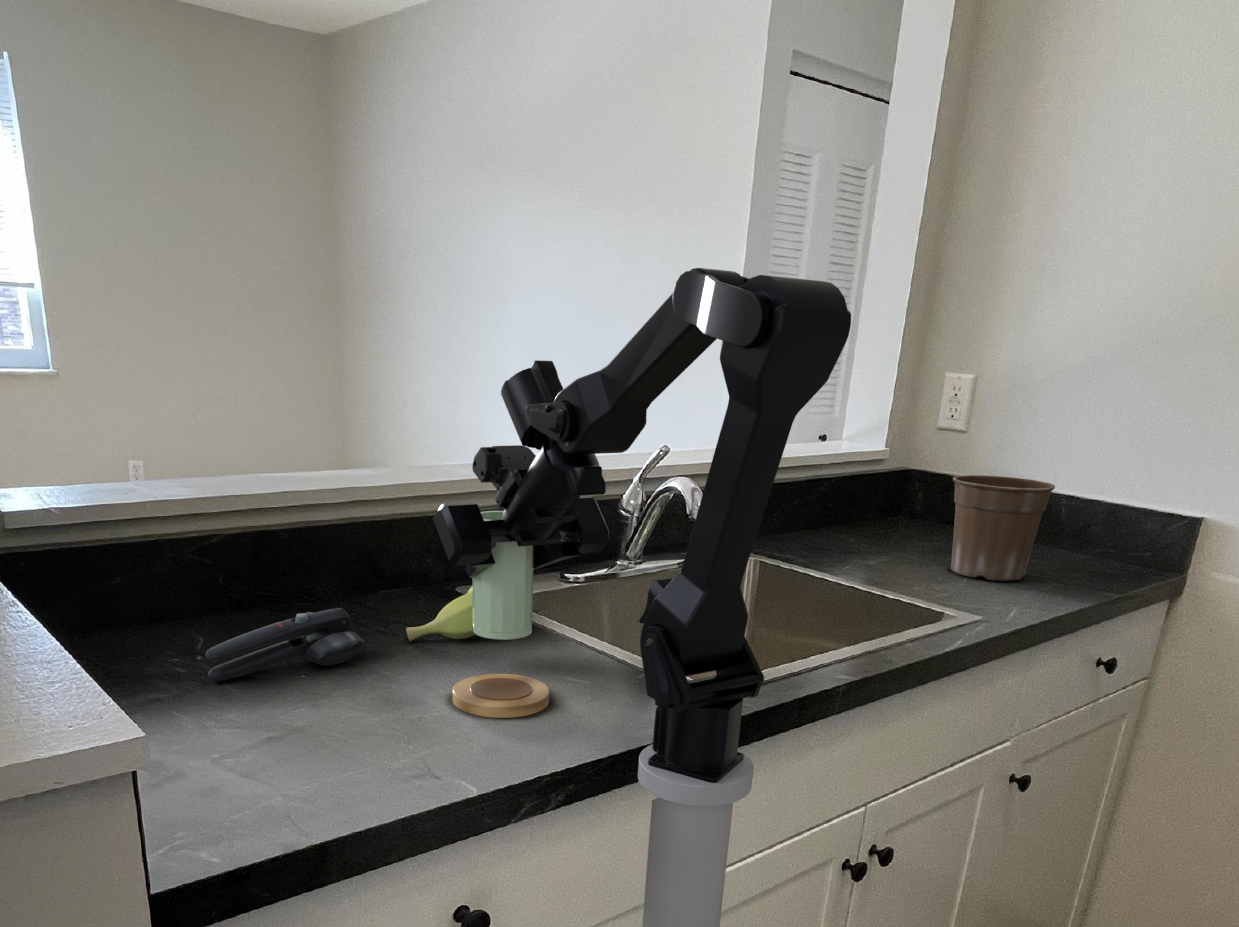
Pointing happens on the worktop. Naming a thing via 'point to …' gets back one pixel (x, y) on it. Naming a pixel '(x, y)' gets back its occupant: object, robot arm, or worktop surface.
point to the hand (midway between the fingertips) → (497, 571)
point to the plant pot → (996, 525)
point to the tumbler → (504, 591)
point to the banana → (449, 620)
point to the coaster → (500, 695)
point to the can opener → (289, 644)
